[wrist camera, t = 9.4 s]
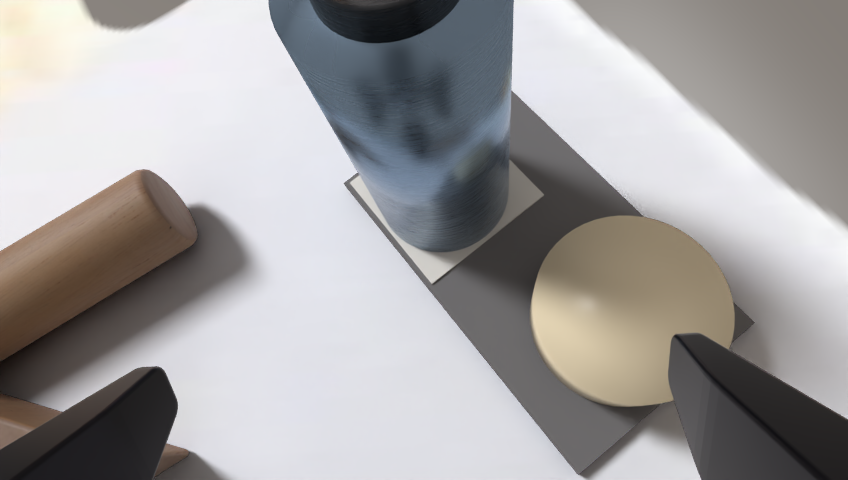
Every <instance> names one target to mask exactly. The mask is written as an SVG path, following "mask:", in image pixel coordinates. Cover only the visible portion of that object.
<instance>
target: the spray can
mask: <svg viewBox="0 0 848 480" xmlns="http://www.w3.org/2000/svg"><path fill="white" fill-rule="evenodd" d="M513 3H514V0H269V10H270V16H271V19H272V22H273V25H274V28H275V30H276V32H277V34H278V36H279V37H280V39H281V41H282V43H283V44H284V46H285V48H286V50H287V51H288V53H289V55H290V56H291V58H292V60H293V62H294V63H295V65H296V67H297V69H298V70H299V72H300V74H301V75H302V77H303V79H304V81H305V82H306V84H307V86H308V87H309V89H310V91H311V93H312V94H313V96H314V98H315V100H316V101H317V103H318V105H319V106H320V108H321V110H322V112H323V113H324V115H325V117H326V118H327V120H328V122H329V124H330V125H331V127H332V129H333V131H334V132H335V134H336V136H337V137H338V139H339V141H340V143H341V144H342V146H343V148H344V149H345V151H346V153H347V155H348V156H349V158H350V160H351V162H352V163H353V165H354V167H355V168H356V170H357V172H358V174H359V175H360V177H361V179H362V180H363V182H364V184H365V186H366V187H367V189H368V191H369V193H370V194H371V196H372V198H373V199H374V201H375V203H376V205H377V206H378V208H379V210H380V211H381V213H382V215H383V217H384V218H385V220H386V222H387V224H388V225H389V227H390V228H391V229H392V231H393V232H394V233H395V234H396V235H397V236H398V237H399V238H401V239H402V240H403V241H405V242H406V243H408V244H410V245H412V246H414V247H416V248H419V249H422V250H426V251H430V252H451V251H457V250H461V249H464V248H467V247H469V246H471V245H473V244H475V243H477V242H479V241H480V240H482V239H483V238H484V237H486V236H487V235H488V234H489V233H490V232H491V231H492V230H493V229H494V228H495V226H496V225H497V224H498V222H499V221H500V219H501V217H502V215H503V213H504V211H505V208H506V205H507V201H508V193H509V157H510V118H511V80H512V41H513Z"/></svg>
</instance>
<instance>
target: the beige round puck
mask: <svg viewBox="0 0 848 480" xmlns="http://www.w3.org/2000/svg"><path fill="white" fill-rule="evenodd" d="M734 324H735V313H734V305H733V299H732V296H731V292H730V288H729V286H728V284H727V281H726V279H725V277H724V275H723V273H722V271H721V270H720V268H719V266H718V265H717V263H716V262H715V261H714V259H713V258H712V257H711V255H710V254H709V253H708V252H707V251H706V250H705V249H704V248H703V247H702V246H701V245H700V244H699V243H697V242H696V241H695V240H694V239H693V238H691V237H690V236H688V235H687V234H685V233H684V232H682V231H681V230H679V229H677V228H675V227H673V226H671V225H669V224H666V223H663V222H660V221H658V220H654V219H650V218H646V217H639V216H620V215H619V216H610V217H604V218H600V219H596V220H593V221H590V222H588V223H585V224H583V225H581V226H579V227H577V228H575V229H574V230H572V231H571V232H569V233H568V234H566V235H565V236H564V237H563V238H562V239H561V240H559V241H558V242H557V243H556V244H555V246H554V247H553V248H552V249H551V250H550V252H549V253H548V255H547V256H546V258H545V259H544V261H543V263H542V265H541V268H540V270H539V272H538V275H537V279H536V282H535V286H534V291H533V295H532V299H531V305H530V327H531V333H532V337H533V341H534V344H535V346H536V349H537V351H538V353H539V355H540V357H541V359H542V360H543V362H544V364H545V365H546V366H547V368H548V369H549V370H550V372H551V373H552V374H553V375H554V376H555V377H556V378H557V379H558V380H559V381H560V382H561V383H562V384H564V385H565V386H566V387H567V388H568V389H570V390H572V391H573V392H575V393H576V394H578V395H580V396H582V397H584V398H586V399H588V400H591V401H594V402H597V403H600V404H604V405H609V406H615V407H634V406H645V405H654V404H661V403H665V402H670V401H673V400H674V399H673V396H672V393H671V390H670V386H669V381H668V367H669V356H670V344H671V339H672V337H673V336H674V335H675V334H680V333H701V334H703V335H705V336H707V337H708V338H710V339H712V340H713V341H715V342H717V343H719V344H720V345H722V346H724V347H725V348H727V349H729V348H730V345H731V342H732V339H733V333H734Z"/></svg>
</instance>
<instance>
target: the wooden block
mask: <svg viewBox="0 0 848 480" xmlns="http://www.w3.org/2000/svg"><path fill="white" fill-rule="evenodd" d="M197 237H198V234H197V228H196V225H195V223H194V220H193V217H192V215H191V214H190V212H189V210H188V208H187V207H186V205H185V204H184V202H183V201H182V199H181V198H180V197H179V195H178V194H177V193H176V192H175V190H174V189H173V188H172V187H171V186H170V185H169V184H168V183H167V182H165V181H164V180H163V179H162V178H161V177H159V176H158V175H157V174H155V173H153V172H152V171H150V170H144V169H143V170H136V171H135V172H133V173H131V174H130V175H128V176H126V177H125V178H123V179H121V180H119V181H118V182H116V183H114V184H113V185H111V186H109V187H108V188H106V189H104V190H103V191H101V192H99V193H98V194H96V195H94V196H93V197H91V198H89V199H87V200H86V201H84V202H82V203H81V204H79V205H77V206H76V207H74V208H72V209H71V210H69V211H67V212H66V213H64V214H62V215H60V216H59V217H57V218H55V219H54V220H52V221H50V222H49V223H47V224H45V225H44V226H42V227H40V228H39V229H37V230H35V231H34V232H32V233H30V234H28V235H27V236H25V237H23V238H22V239H20V240H18V241H17V242H15V243H13V244H12V245H10V246H8V247H7V248H5V249H3V250H1V251H0V362H1V361H2V360H4V359H6V358H7V357H9V356H11V355H12V354H14V353H16V352H17V351H19V350H21V349H22V348H24V347H25V346H27V345H29V344H30V343H32V342H34V341H35V340H37V339H39V338H40V337H42V336H44V335H45V334H47V333H49V332H50V331H52V330H54V329H55V328H57V327H58V326H60V325H62V324H63V323H65V322H67V321H68V320H70V319H72V318H73V317H75V316H77V315H78V314H80V313H82V312H83V311H85V310H87V309H88V308H90V307H91V306H93V305H95V304H96V303H98V302H100V301H101V300H103V299H105V298H106V297H108V296H110V295H111V294H113V293H115V292H116V291H118V290H120V289H121V288H123V287H124V286H126V285H128V284H129V283H131V282H133V281H134V280H136V279H138V278H139V277H141V276H143V275H144V274H146V273H148V272H149V271H151V270H153V269H154V268H156V267H157V266H159V265H161V264H162V263H164V262H166V261H167V260H169V259H171V258H172V257H174V256H176V255H177V254H179V253H181V252H182V251H184V250H186V249H187V248H189V247H190V246H192V245H193V244H194V243H195V241H196V239H197ZM61 413H62V412H60V411H57V410H54V409H51V408H47V407H44V406H41V405H37V404H34V403H31V402H27V401H24V400H21V399H17V398H14V397H11V396H7V395H4V394H1V393H0V449H2V448H3V447H5V446H7V445H8V444H10V443H12V442H13V441H15V440H17V439H18V438H20V437H22V436H23V435H25V434H27V433H29V432H30V431H32V430H34V429H35V428H37V427H39V426H40V425H42V424H44V423H45V422H47V421H49V420H50V419H52V418H54V417H55V416H57V415H59V414H61ZM188 454H189V452H188V450H186V449H183V448H180V447H176V446H173V445H170V444H166V445H165V448H164V451H163V454H162V456H161V459H160V462H159V465H158V468H157V470H156V473H155V476H157V475H158V474H160V473H162V472H163V471H165V470H166V469H168V468H170V467H171V466H173V465H174V464H176V463H178V462H179V461H181V460H182V459H184V458H185V457H187V456H188ZM155 476H154V477H155Z"/></svg>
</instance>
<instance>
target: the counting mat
mask: <svg viewBox="0 0 848 480" xmlns="http://www.w3.org/2000/svg"><path fill="white" fill-rule="evenodd" d="M344 184H345V186H346V187H347V189H348V190H349V191H350V192H351V193H352V195H353V196H354V197H355V198H356V200H357V201H358V202H359V203H360V205H361V206H362V207H363V208H364V210H365V211H366V212H367V213H368V215H369V216H370V217H371V218H372V220H373V221H374V222H375V223H376V225H377V226H378V227H379V228H380V229H381V231H382V232H383V233H384V234H385V236H386V237H387V238H388V239H389V241H390V242H391V243H392V244H393V246H394V247H395V248H396V249H397V251H398V252H399V253H400V254H401V256H402V257H403V258H404V259H405V261H406V262H407V263H408V264H409V266H410V267H411V268H412V269H413V270H414V272H415V273H416V274H417V275H418V277H419V278H420V279H421V280H422V282H423V283H424V284H425V285H426V287H427V288H428V289H429V290H430V292H431V293H432V294H433V295H434V297H435V298H436V299H437V300H438V302H439V303H440V304H441V305H442V306H443V308H444V309H445V310H446V311H447V313H448V314H449V315H450V316H451V318H452V319H453V320H454V321H455V323H456V324H457V325H458V326H459V328H460V329H461V330H462V331H463V333H464V334H465V335H466V336H467V338H468V339H469V340H470V341H471V342H472V344H473V345H474V346H475V347H476V349H477V350H478V351H479V352H480V354H481V355H482V356H483V357H484V359H485V360H486V361H487V362H488V364H489V365H490V366H491V367H492V369H493V370H494V371H495V372H496V374H497V375H498V376H499V377H500V379H501V380H502V381H503V382H504V383H505V385H506V386H507V387H508V388H509V390H510V391H511V392H512V393H513V395H514V396H515V397H516V398H517V400H518V401H519V402H520V403H521V405H522V406H523V407H524V408H525V410H526V411H527V412H528V413H529V415H530V416H531V417H532V418H533V419H534V421H535V422H536V423H537V424H538V426H539V427H540V428H541V429H542V431H543V432H544V433H545V434H546V436H547V437H548V438H549V439H550V441H551V442H552V443H553V444H554V446H555V447H556V448H557V449H558V451H559V452H560V453H561V454H562V455H563V457H564V458H565V459H566V460H567V462H568V463H569V464H570V465H571V467H572V468H573V469H574V470H575V472H576V473H577V474H578V475H579V474H580V473H581V472H582V471H583V470H585V469H586V468H587V467H588V466H589V465H590V464H592V463H593V462H594V461H595V460H596V459H597V458H599V457H600V456H601V455H602V454H603V453H604V452H605V451H607V450H608V449H609V448H610V447H611V446H612V445H614V444H615V443H616V442H617V441H618V440H619V439H621V438H622V437H623V436H624V435H625V434H626V433H628V432H629V431H630V430H631V429H632V428H633V427H634V426H636V425H637V424H638V423H639V422H640V421H641V420H643V419H644V418H645V417H646V416H647V415H648V414H650V413H651V412H652V411H653V410H654V409H655V408H656V407H658V406H659V405H660V404H654V405H645V406H634V407H615V406H609V405H604V404H600V403H597V402H594V401H591V400H588V399H586V398H584V397H582V396H580V395H578V394H576V393H575V392H573V391H572V390H570V389H568V388H567V387H566V386H565V385H564V384H562V383H561V382H560V381H559V380H558V379H557V378H556V377H555V376H554V375H553V374H552V373H551V372H550V370H549V369H548V368H547V366H546V365H545V364H544V362H543V360H542V359H541V357H540V355H539V353H538V351H537V349H536V346H535V344H534V341H533V337H532V333H531V327H530V305H531V299H532V295H533V291H534V286H535V282H536V279H537V275H538V272H539V270H540V268H541V265H542V263H543V261H544V259H545V258H546V256H547V255H548V253H549V252H550V250H551V249H552V248H553V247H554V246H555V244H556V243H557V242H558V241H559V240H561V239H562V238H563V237H564V236H565V235H566V234H568V233H569V232H571V231H572V230H574V229H575V228H577V227H579V226H581V225H583V224H585V223H588V222H590V221H593V220H596V219H600V218H604V217H610V216H619V215H620V216H639V217H643V216H642V215H641V214H640V213H639V212H638V211H637V210H636V209H635V208H634V207H633V206H632V205H631V204H630V203H629V202H628V201H627V200H626V199H625V198H624V197H622V196H621V195H620V194H619V193H618V192H617V191H616V190H615V189H614V188H613V187H612V186H611V185H610V184H609V183H608V182H607V181H606V180H605V179H604V178H603V177H602V176H600V175H599V174H598V173H597V172H596V171H595V170H594V169H593V168H592V167H591V166H590V165H589V164H588V163H587V162H586V161H585V160H584V159H583V158H582V157H581V156H580V155H578V154H577V153H576V152H575V151H574V150H573V149H572V148H571V147H570V146H569V145H568V144H567V143H566V142H565V141H564V140H563V139H562V138H561V137H560V136H559V135H558V134H556V133H555V132H554V131H553V130H552V129H551V128H550V127H549V126H548V125H547V124H546V123H545V122H544V121H543V120H542V119H541V118H540V117H539V116H538V115H537V114H535V113H534V112H533V111H532V110H531V109H530V108H529V107H528V106H527V105H526V104H525V103H524V102H523V101H522V100H521V99H520V98H519V97H518V96H517V95H516V94H515V93H513V92H512V91H511V118H510V157H509V193H508V201H507V205H506V208H505V211H504V213H503V215H502V217H501V219H500V221H499V222H498V224H497V225H496V226H495V228H494V229H493V230H492V231H491V232H490V233H489V234H488V235H487V236H486V237H484V238H483V239H482V240H480V241H479V242H477V243H475V244H473V245H471V246H469V247H467V248H464V249H461V250H457V251H451V252H430V251H426V250H422V249H419V248H416V247H414V246H412V245H410V244H408V243H406V242H405V241H403V240H402V239H401V238H399V237H398V236H397V235H396V234H395V233H394V232H393V231H392V229H391V228H390V227H389V225H388V224H387V222H386V220H385V218H384V217H383V215H382V213H381V211H380V210H379V208H378V206H377V205H376V203H375V201H374V199H373V198H372V196H371V194H370V193H369V191H368V189H367V187H366V186H365V184H364V182H363V180H362V179H361V177H360V175H359V174H358V173H357V174H355V175H354V176H353V177H351V178H350V179H349V180H347V181H346V182H345V183H344ZM733 305H734V313H735V324H734V333H733V339H732V342H733V341H734V340H735V339H736V338H738V337H739V336H740V335H741V334H742V333H743V332H745V331H746V330H747V329H748V328H749V327H750V326H751V325H753V324H754V323H755V322H754V321H752V320H751V319H750V318H749V317H748V316H747V315H746V314H745V313H744V312H743V311H742V310H741V309H740V308H739V307H738V306H737V305H736V304H735V303H734V302H733ZM732 342H731V343H732Z"/></svg>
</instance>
